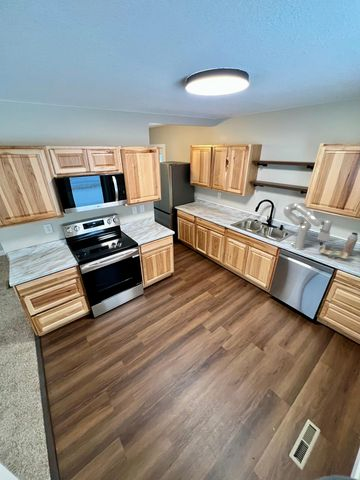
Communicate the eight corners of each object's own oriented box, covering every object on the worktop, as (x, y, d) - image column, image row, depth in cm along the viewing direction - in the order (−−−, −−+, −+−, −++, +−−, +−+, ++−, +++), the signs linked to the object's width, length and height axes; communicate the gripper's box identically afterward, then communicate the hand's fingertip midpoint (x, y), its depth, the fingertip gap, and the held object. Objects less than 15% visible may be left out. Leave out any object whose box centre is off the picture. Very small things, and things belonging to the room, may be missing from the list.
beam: (317, 255, 226) (319, 248, 222) (318, 252, 230) (320, 246, 226) (345, 262, 211) (348, 255, 208) (345, 259, 216) (348, 253, 212)
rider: (323, 251, 221) (325, 246, 218) (324, 249, 225) (325, 244, 222) (329, 252, 218) (330, 247, 215) (329, 250, 222) (331, 245, 219)
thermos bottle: (348, 257, 219) (357, 235, 207) (340, 254, 226) (349, 232, 213) (351, 255, 223) (361, 233, 210) (343, 252, 229) (352, 231, 216)
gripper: (317, 230, 217) (312, 244, 225) (333, 233, 208) (328, 248, 216) (317, 228, 222) (313, 242, 230) (333, 231, 213) (328, 245, 221)
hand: (320, 245), depth 223 cm, fingers closed
